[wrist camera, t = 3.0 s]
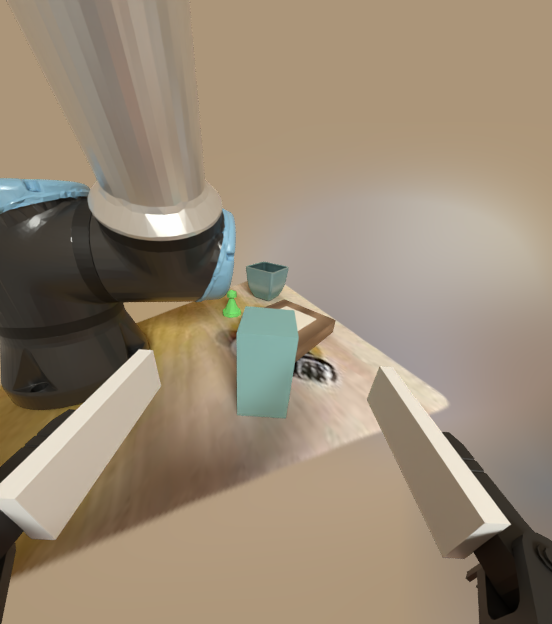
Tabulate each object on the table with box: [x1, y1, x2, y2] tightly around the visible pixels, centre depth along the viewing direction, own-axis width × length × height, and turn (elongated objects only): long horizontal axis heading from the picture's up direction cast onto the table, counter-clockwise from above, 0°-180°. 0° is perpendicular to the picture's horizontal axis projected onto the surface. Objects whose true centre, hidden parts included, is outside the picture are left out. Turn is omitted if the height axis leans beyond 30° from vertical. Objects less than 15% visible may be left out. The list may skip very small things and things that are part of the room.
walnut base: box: [265, 300, 336, 362], centre depth 42 cm, size 14×14×3 cm
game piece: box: [223, 290, 241, 318], centre depth 47 cm, size 4×4×6 cm
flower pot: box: [246, 262, 289, 301], centre depth 57 cm, size 9×9×9 cm
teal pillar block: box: [237, 306, 299, 418], centre depth 25 cm, size 6×6×12 cm
